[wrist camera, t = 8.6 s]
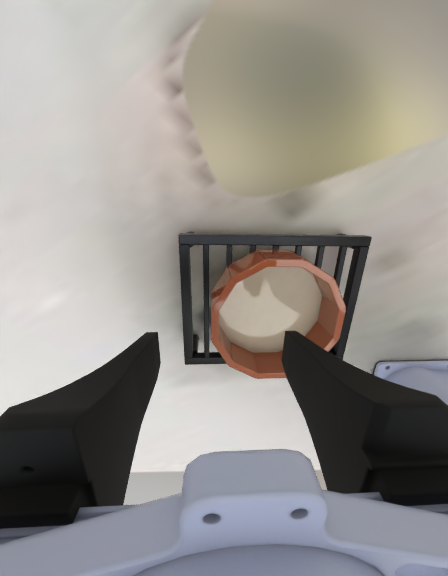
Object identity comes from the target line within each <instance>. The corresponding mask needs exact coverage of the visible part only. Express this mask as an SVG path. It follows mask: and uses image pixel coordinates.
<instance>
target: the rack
mask: <svg viewBox="0 0 448 576" xmlns="http://www.w3.org/2000/svg"><path fill="white" fill-rule="evenodd" d="M371 238H372V237H370V236H362V235H345V234H338V235H277V234H195V233H193V232H188V233H180V234H179V255H180V275H181V296H182V316H183V336H184V357H185V364H186V365H188V364H227V363H226V362H225V360H224V359H223V357H222V356H221V354H220V353H219V352H209V245H227V252H226V268H227V267H228V265H230V264H232V245H250V250H249V254H250V253H252V252H254V251H255V250H256V245H273V247H272V250H279V246H295V252H294V253H295V254H297V255H299V256H301V251H302V246H317V253H316V259H315V266H317V267H318V268H320V269H321V266H322V260H323V254H324V248H325V246H340V247H339V252H338V257H337V262H336V268H335V273H334V279H335V280H336V283H337V286H338V288H339V285H340V280H341V275H342V270H343V265H344V260H345V255H346V250H347V247H349V248H352V249H354V251H353V256H352V260H351V265H350V270H349V274H348V279H347V284H346V288H345V293H344V298H343V301H344V303H345V306H346V312H345V316H344V321H343V325H342V330H341V334H340V338H339V340H338V341H337V343H336V344H335V345H334V346H333V347H332V348H331V350H330V351H329V353H331V354H332V355H334V356H336V357H338V358H339V359H341V360H343V355H344V351H345V347H346V343H347V339H348V334H349V330H350V326H351V322H352V318H353V313H354V309H355V305H356V301H357V296H358V292H359V288H360V284H361V279H362V275H363V271H364V267H365V262H366V258H367V254H368V250H369V247H368V246H370V242H371ZM193 245H203V275H204V352H205V353H198V341H199V338H198V336H197V335H193V326H192V296H191V265H190V247H192V246H193Z"/></svg>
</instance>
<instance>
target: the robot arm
mask: <svg viewBox="0 0 448 576" xmlns="http://www.w3.org/2000/svg"><path fill="white" fill-rule="evenodd" d="M281 361H282V364H283V368H284V371H285V374H286V377H287V380H288V382H289V384H290V386H291V388H292V391H293V393H294V395H295V397H296V399H297V402H298V404H299V406H300V408H301V410H302V412H303V415H304V417H305V420H306V423H307V426H308V428H309V431H310V434H311V437H312V440H313V443H314V447H315V450H316V453H317V456H318V459H319V462H320V466H321V469H322V473H323V476H324V480H325V483H326V486H327V490H328V491H327V490H322V489H321V487H320V484H319V481H318V479H317V476H316V473H315V471H314V468H313V466H312V463H311V460H310V459H309V458H307V457H306V456H305V455H303V454H302V453H301V452H299V451H294V450H287V449H272V450H247V451H223V452H212V453H208V454H203V455H200V456H199V457H197V458H196V459H195V460H193V461H192V462H191V463H189V464H188V465H187V467H186V470H185V473H184V477H183V487H182V493H178V494H175V495H171V496H168V497H165V498H161V499H157V500H154V501H150V502H147V503H144V504H140V505H123V503H124V498H125V493H126V488H127V484H128V479H129V474H130V470H131V465H132V461H133V457H134V452H135V448H136V444H137V440H138V436H139V432H140V428H141V424H142V421H143V418H144V415H145V412H146V409H147V406H148V404H149V401H150V398H151V395H152V392H153V390H154V387H155V384H156V381H157V377H158V373H159V368H160V363H161V362H160V351H159V341H158V332H147V333H145V334H144V335H143V336H141V337H140V338H139V339H138V340H137V341H135V342H134V343H133V344H132V345H130V346H129V347H128V348H127V349H125V350H124V351H123V352H122V353H120V354H119V355H117V356H116V357H115V358H113V359H112V360H111V361H109V362H108V363H106V364H105V365H103V366H102V367H100V368H98V369H97V370H95V371H93V372H92V373H90V374H88V375H86V376H84V377H82V378H80V379H78V380H76V381H74V382H73V383H71V384H69V385H66V386H64V387H62V388H60V389H58V390H55V391H53V392H50V393H48V394H46V395H43V396H40V397H38V398H35V399H32V400H29V401H27V402H24V403H21V404H18V405H15V406H12V407H9V408H8V409H7V410H6V411H5V412H4V413H3V414H2V415H1V416H0V576H448V361H403V362H380V363H378V364H377V365H376V369H375V372H374V375H372V374H370V373H368V372H365V371H363V370H361V369H359V368H357V367H355V366H353V365H351V364H349V363H347V362H345V361H343V360H341V359H339V358H338V357H336V356H334V355H332V354H331V353H329V352H327V351H326V350H324V349H323V348H321V347H320V346H318V345H317V344H315V343H314V342H312V341H311V340H309V339H308V338H306V337H305V336H303V335H302V334H300V333H299V332H297V331H285V336H284V344H283V352H282V360H281Z"/></svg>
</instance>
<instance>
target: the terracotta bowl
mask: <svg viewBox="0 0 448 576" xmlns="http://www.w3.org/2000/svg"><path fill="white" fill-rule="evenodd" d="M345 312H346V306H345V303H344V301H343V298H342V296H341V293H340V291H339V288H338V286H337V283H336V280H335V279H334V277H332V276H331V275H329V274H328V273H326V272H324V271H323V270H321V269H320V268H318V267H317V266H315V265H313V264H312V263H310V262H309V261H307V260H306V259H304V258H302V257H301V256H299V255H297V254H295V253H294V252H292V251H289V250H255V251H254V252H252V253H250V254H248V255H246V256H245V257H243V258H241V259H239V260H237V261H236V262H234V263H232V264H230V265H228V267H227V268H226V269H225V271H224V273H223V274H222V276H221V277H220V279H219V281H218V282H217V284H216V285H215V287H214V289H213V290H212V293H211V340H212V343H213V344H214V346H215V347H216V348H217V350H218V351H219V353H220V354H221V356H222V357H223V359H224V360H225V362H226V363H227V365H229V366H230V367H232V368H234V369H236V370H238V371H241V372H243V373H245V374H247V375H249V376H251V377H254V378H257V379H263V378H287V377H286V374H285V371H284V368H283V364H282V361H281V360H282V352H283V344H284V336H285V331H297V332H299V333H300V334H302V335H303V336H305V337H306V338H308V339H309V340H311V341H312V342H314V343H315V344H317V345H318V346H320V347H321V348H323V349H324V350H326V351H327V352H329V351H330V350H331V348H332V347H333V346H334V345H335V344H336V343H337V341H338V340H339V338H340V334H341V330H342V325H343V321H344V316H345Z"/></svg>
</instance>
